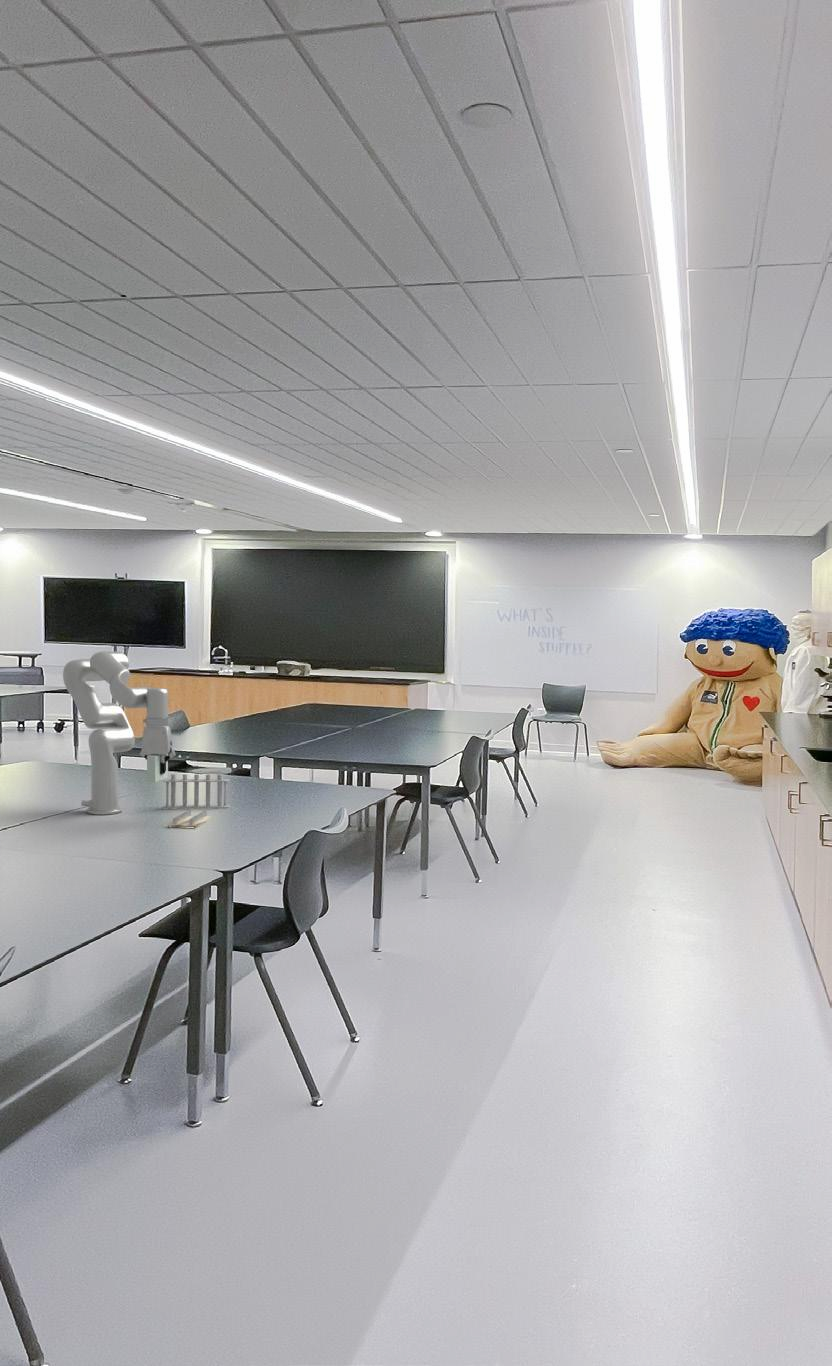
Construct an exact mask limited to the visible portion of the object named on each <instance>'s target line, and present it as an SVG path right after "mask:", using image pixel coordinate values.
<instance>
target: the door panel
mask: <svg viewBox="0 0 832 1366" xmlns="http://www.w3.org/2000/svg"><path fill="white" fill-rule="evenodd" d="M168 755H169V753H168V754H167V756H168ZM168 761H169V760H168ZM168 761H167V762H166V772H165V774H160V763H161V755H150V756H147V760H146V779H147V780H146V783H150V782H151V783H157V782H159V781H161V780H164V779H169V765H168V763H169V762H168Z"/></svg>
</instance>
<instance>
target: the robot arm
mask: <svg viewBox="0 0 832 1366" xmlns="http://www.w3.org/2000/svg"><path fill="white" fill-rule="evenodd" d="M129 667H130V662H129V658H128V656H127V655H126V654H125V653H124V652H122V651H98V652H95V653H94V654H93V655H91V657H90V658H82V659H80V658H79V659H74V660H70V661H68V662H67V663H65V665H64V668H63V672H62V679H63V683H64V685H65V688H66V690H67V692H68V694H69V695H70V696H71V698H72V699H73V701H74V703H75V706H76V708H77V710H78V713H79V715H80V718H81V720H82V722H83V724H84V725H85V727H86V728H88V729H92V730H93V731H92V732H90V735H89V737H88V747H89V753H90V763H91V770H90V771H91V774H90V775H91V776H90V777H91V781H90V782H91V785H90V786H91V787H90V788H91V791H90V792H91V795H90V797H91V799H89V800H85V799H83V800H81V802H80V803H81V806H82V807H88V808H87V809H86V813H87V814H91V815H99V816H101V815H104V816H105V815H113V814H114V815H115V814H119V813H122V812H123V808H122V807H121V806H119V796H118V795H119V793H118V792H119V768H118V767H119V765H118V762H117V759H116V757H115V756H114V753H124V752H128V751H131V750H132V749H133V748H134V747H135V743H136V738H135V735H134V734H135V733H134V731H133V729H132V726H131V724H130V722H129V720H128V717H127V715H126V713H125V711H124V709H123V708H126V709H143V708H145V709H146V718H144V719H142V723H143V724H145V726H144V727H143V731H142V739H141V740H142V741H141V750H140V752H139V756H141V757H142V758H144V759H145V760H146V761H147V756H150V755H161V763H160V774H165V772H166V762H167V761H169V760H170V759H171V758H173V757H175V756H177V755H176V752H175V750H174V748H173V747H174V745H173V736H172V729H171V727H170V726H169V694H168V693H169V692H168V690H167V689H166V688H164V687H152V686H135V687H134V686H131V687H129V686H127V684H128V683H129V680H130V679H131V672H130V670H129ZM103 681H105V682H106V683H107V684H108V685H109V692H110V694H111V697H112V698H113V700H115V701H116V702H117V703H118V704H119V705H118V704H117V703H114V702H109V703H108V702H107V703H105V702H104V703H103V702H101V701H100V699H99V696H98V694H97V692H96V691H95V690H94V688H92V686H91V685H89V684H88V683H86V682H103ZM121 706H122V707H123V708H122V707H121ZM167 754H168V756H167Z"/></svg>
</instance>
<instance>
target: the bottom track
mask: <svg viewBox="0 0 832 1366" xmlns="http://www.w3.org/2000/svg"><path fill="white" fill-rule="evenodd" d="M207 813H208V811H206V810H204V811H202V812H200V813H198V814H196V815H191V814H192V811H191V810H187V811H184V812H183V813H181V814H179V815H177V816H175V817H173V818H172V821H171V822H170V823H169V824H167V827H168V826H171V827H194V828H196V827H197V828H199V827H200V826H199V825H201V824H202V825H204V824H205V823H204V822H206V821H207V822H209V821H210V819H211V818H212V816H209V815H207ZM208 820H209V821H208ZM211 820H212V819H211ZM207 822H206V823H207ZM203 823H204V824H203ZM202 825H201V826H202ZM198 826H199V827H198ZM197 828H196V829H197Z"/></svg>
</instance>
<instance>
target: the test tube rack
mask: <svg viewBox="0 0 832 1366" xmlns="http://www.w3.org/2000/svg"><path fill="white" fill-rule="evenodd" d="M176 775H177V774H174V773H172V774H171V775H170V779H169V778H165V779H163V783H166V784H165V786H166V788H165V790H166V791H165V792H166V793H165V796H166V798H165V800H166V801H165V804H164V805H163V807H162V809H163V808H229V809H230V804H227V803H228V802H227V789H228V787H227V785H228V783H229V782H230V779H229V778H223V774H222V773H218V774H217V778H211V777H212V776H211V774H210V773H206V775H205V778H202V779H201V778H200V774H198V773H195V774H194V775H193V776H194V778H192V779H191V778H188V774H187V773H184V774H183V773H182V778H181V779H179V778H177V779H176ZM176 783H182V804H179V805H177V804H176V791H177V790H176V789H177V788H176V787H177V786H176V785H177V784H176ZM188 783H194V784H193V787H194V788H193V789H194V790H193V791H194V793H193V796H194V797H193V799H194V803H193V804H188ZM200 783H205V804H199V803H200V801H199V799H200V797H199V795H200ZM211 783H217V788H216V789H217V793H216V794H217V795H216V796H217V797H216V799H217V801H216V803H217V804H211ZM223 783H224V787H223ZM169 785H170V804H169ZM223 788H224V792H223ZM223 793H224V794H223ZM223 795H224V796H223ZM223 800H224V801H223Z"/></svg>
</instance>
